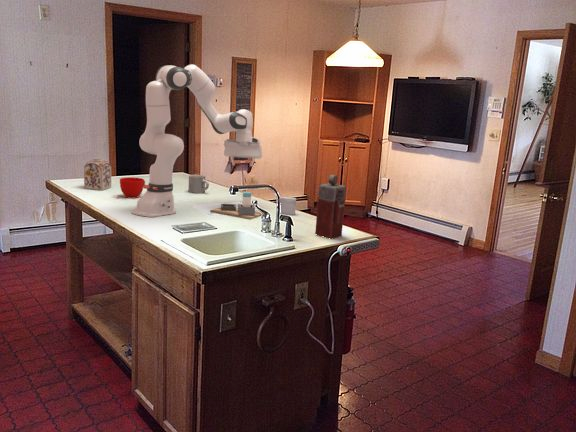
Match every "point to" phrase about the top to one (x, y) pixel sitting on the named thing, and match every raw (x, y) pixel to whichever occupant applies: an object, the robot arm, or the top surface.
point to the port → (246, 210)
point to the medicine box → (288, 205)
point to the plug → (246, 199)
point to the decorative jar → (97, 175)
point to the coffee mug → (197, 184)
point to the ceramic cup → (132, 186)
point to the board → (235, 213)
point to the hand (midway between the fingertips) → (242, 165)
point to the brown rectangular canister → (330, 209)
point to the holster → (228, 207)
